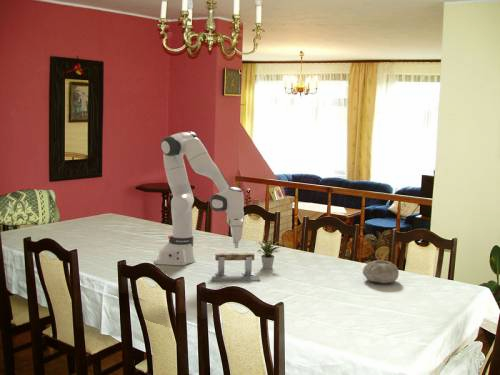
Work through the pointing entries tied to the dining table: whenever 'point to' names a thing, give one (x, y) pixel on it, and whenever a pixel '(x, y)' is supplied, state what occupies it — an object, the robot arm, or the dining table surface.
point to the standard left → (221, 267)
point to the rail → (234, 256)
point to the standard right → (248, 267)
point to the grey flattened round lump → (381, 271)
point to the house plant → (268, 254)
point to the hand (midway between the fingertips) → (235, 245)
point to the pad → (234, 278)
